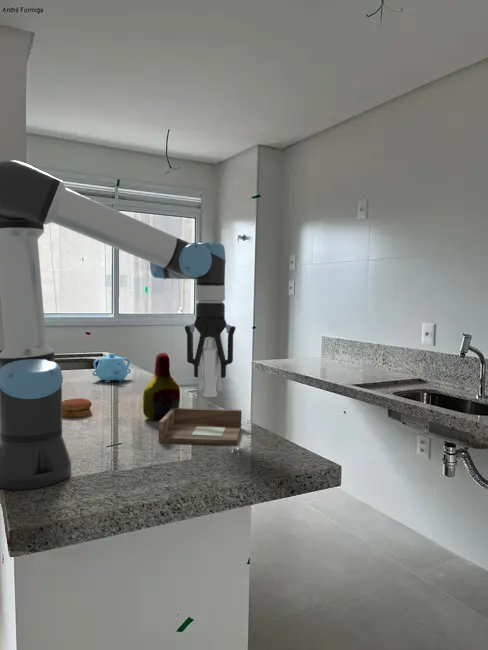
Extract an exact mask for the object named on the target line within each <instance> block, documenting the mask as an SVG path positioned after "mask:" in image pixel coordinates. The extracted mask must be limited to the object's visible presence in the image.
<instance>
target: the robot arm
mask: <svg viewBox="0 0 488 650" xmlns="http://www.w3.org/2000/svg"><path fill="white" fill-rule="evenodd" d="M52 223H53V224H56V225H57V226H60V227H63V228H66V229H68V230H70V231H73V232H75V233H77V234H80V235H83V236H85V237H88V238H90V239H93V240H95V241H97V242H99V243H102V244H104V245H107V246H110V247H112V248H114V249H117V250H120V251H121V252H125V253H126V254H128V255H132V256H134V257H136V258H140V259H142V260H144V261H147V262H149V269H150V274H151V276H152V277H153V278H155V279H163V280H166V279H170V280H174V279H175V280H196V282H195V283H196V284H195V285H196V286H195V287H196V288H195V289H196V290H195V291H196V292H195V294H196V295H195V300H196V301H197V303H196V305H195V310H196V311H195V320H194V323H193V324H190V325H189V324H188V325H185V327H184V331H185V333H186V362H187V363H188V364H192V365H193V376H194V378H197V391H201V390H203V364H200V363H201V359H202V350H203V349H204V348H205V347H204V346H205V343H206V341H207V338H214V342H215V344H216V349H217V350H218V355H219V358H218V360H219V362H220V364H218V370H217V391H218V392H221V391H222V389H223V388H222V387H223V383H222V381H223V379H225V377H226V376H227V365H230V364H232V363H233V362H234V334H235V332H236V330H237V329H236V326H234V325H230V324H227V321H226V319H225V317H226V316H225V313H226V310H225V309H226V308H225V307H226V305H225V303H224V301H225V300H226V299H225V298H226V295H225V294H226V288H225V287H226V286H225V282H226V281H225V280H226V279H225V278H226V277H225V276H226V261H227V260H226V250H225V246H224V245H223V244H222V243H219V242H198V243H197V242H188V241H187V240H183V239H182V238H179V237H176V236H174V235H172V234H170V233H167V232H165V231H163V230H161V229H159V228H157V227H154V226H152V225H149V224H147V223H146V222H143V221H140V220H139V219H136V218H134V217H131V216H129V215H127V214H125V213H122V212H121V211H118V210H116V209H114V208H112V207H109V206H106V205H105V204H103V203H101V202H98V201H96V200H94V199H91V198H89V197H88V196H85V195H82V194H81V193H78V192H76V191H74V190H71V189H69V188H67V187H66V186H65V184H64V182H63V180H61V179H58V178H56V177H55V176H52V175H50V174H48V173H46V172H44V171H42V170H40V169H38V168H35V167H33V166H32V165H29V164H27V163H25V162H21V161H19V160H14V159H5V160H0V303H1V313H2V323H3V324H2V325H3V337H4V346H5V347H4V349H3V350H2V351H1V352H0V489H4V490H11V491H13V490H15V491H17V490H21V491H22V490H32V489H39V488H43V487H44V488H45V487H48V486H51V485H55V484H57V483H60V482H62V481H64V480H65V479H67V478H69V476H70V475H71V474H72V459H71V457H70V455H69V452H68V449H67V446H66V443H65V441H64V437H63V417H62V401H63V396H62V395H63V388H62V386H63V382H64V381H63V379H64V377H63V373H62V368H61V366H60V365H59V364H58V363H57V362H56V360H55V359H56V358H55V349H53V348H52V347H50V346H49V345H48V343H47V335H46V323H45V313H44V311H45V310H44V300H43V289H42V275H41V264H40V263H41V262H40V252H39V242H38V240H39V238H40V237H41V236H42V235H43V234H44V233H45V226H44V225H48V224H52ZM195 329H196V331H197V332H198V333H199V334H200V335H199V341H198V344H197V349H196V352H195V356H194V332H195ZM224 330H226V333H227V359H226V355H225V352H224V347H223V342H222V338H221V334H222V332H223V331H224Z"/></svg>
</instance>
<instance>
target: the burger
mask: <svg viewBox="0 0 488 650" xmlns="http://www.w3.org/2000/svg"><path fill="white" fill-rule="evenodd" d="M91 407H92V402H91V400H89V399H86V398H79V397H78V398H70V399H66V400H65V399H64V400H62V418H83V417H87V416H90V415H91V414H92V411H91Z"/></svg>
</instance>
